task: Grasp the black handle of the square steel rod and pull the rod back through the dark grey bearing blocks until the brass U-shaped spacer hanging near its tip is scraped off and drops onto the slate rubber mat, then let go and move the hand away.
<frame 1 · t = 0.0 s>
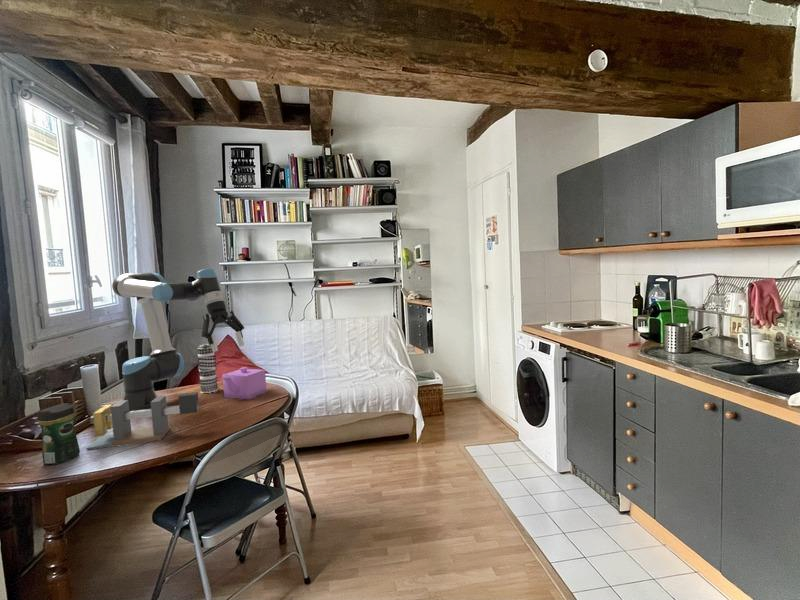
hand: (229, 348, 185), 28 cm above the table, tool tilted 20°, fingers open, 13 cm apart
spacer: (105, 431, 157), point 4 cm above the table, touching shaft
bracket: (142, 437, 160), on the table
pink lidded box: (244, 396, 211), on the table
coffee jar: (61, 460, 144), on the table
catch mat: (106, 442, 157), on the table
shaft: (145, 408, 160), point 11 cm above the table, slide at 0.0 cm, touching spacer
decorative candle: (209, 391, 223), on the table
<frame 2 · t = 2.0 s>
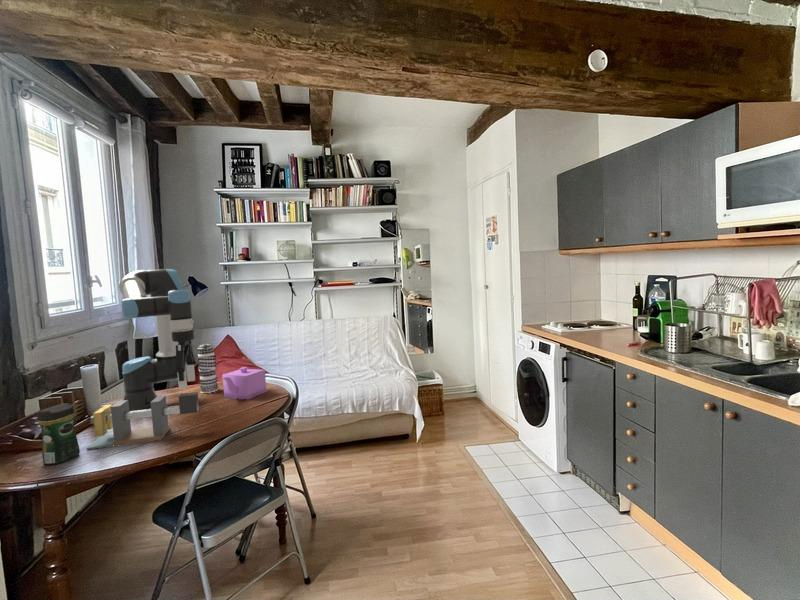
hand: (187, 385, 163), 18 cm above the table, tool pointing down, fingers open, 13 cm apart
nothing on the table moved.
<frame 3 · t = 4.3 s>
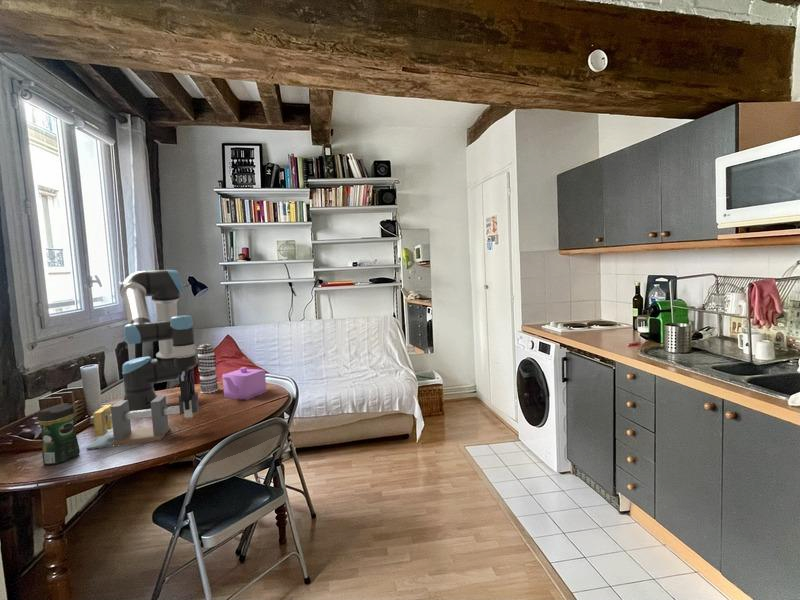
hand: (190, 415, 164), 6 cm above the table, tool pointing down, fingers closed on shaft, 4 cm apart
shaft: (145, 408, 160), point 11 cm above the table, slide at 0.0 cm, touching gripper, spacer
everything else where it was.
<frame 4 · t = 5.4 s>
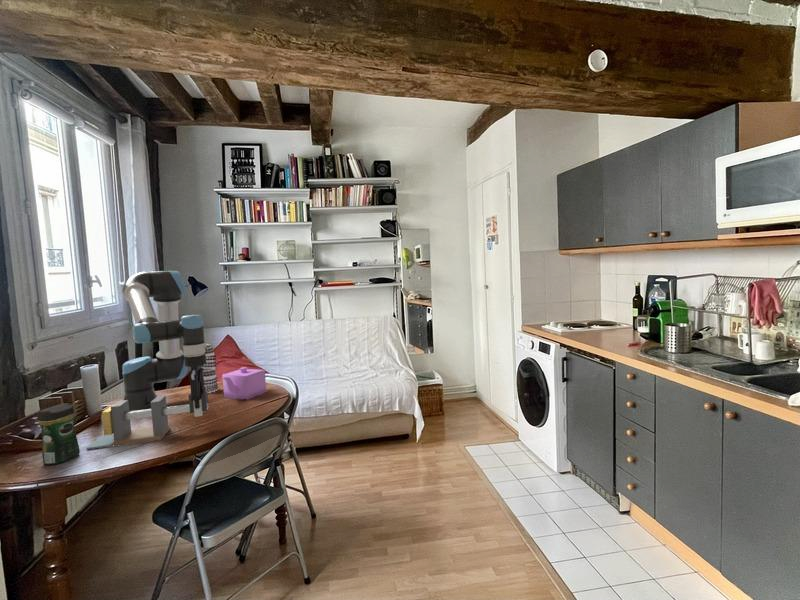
hand: (199, 414, 165), 6 cm above the table, tool pointing down, fingers closed on shaft, 4 cm apart
spacer: (113, 430, 158), point 4 cm above the table, touching shaft
shaft: (156, 406, 161), point 11 cm above the table, slide at 3.5 cm, touching gripper, spacer
everything else where it was.
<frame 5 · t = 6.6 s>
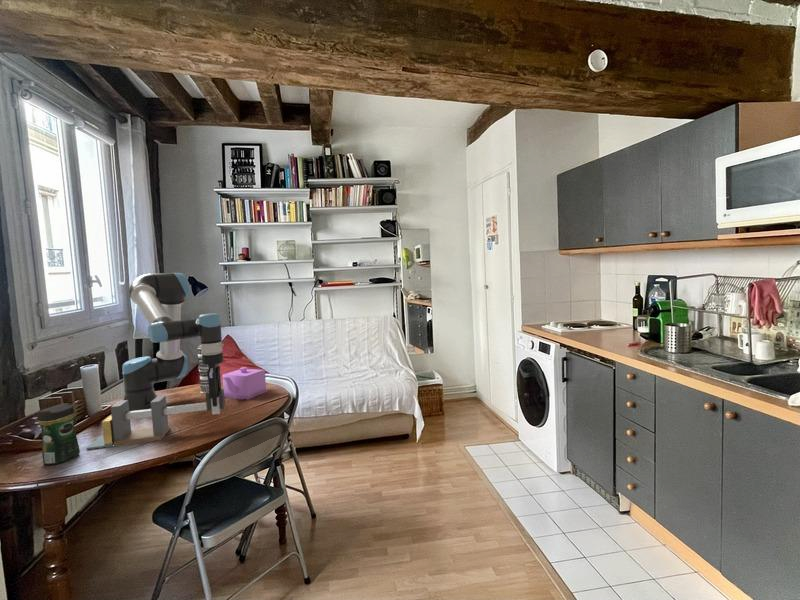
hand: (217, 411, 167), 6 cm above the table, tool pointing down, fingers closed on shaft, 4 cm apart
spacer: (114, 439, 158), point 1 cm above the table, touching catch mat
shaft: (173, 404, 163), point 11 cm above the table, slide at 9.6 cm, touching gripper
everything else where it was.
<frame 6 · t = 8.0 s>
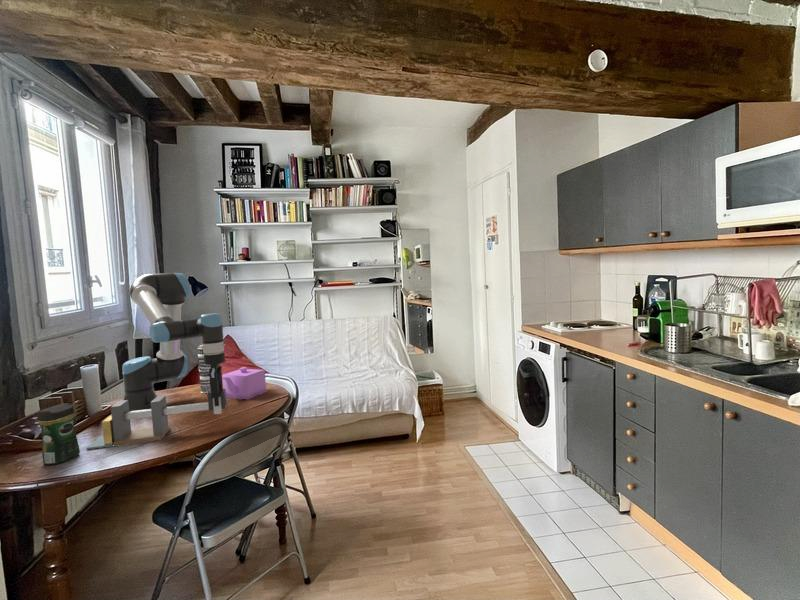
hand: (218, 411, 167), 6 cm above the table, tool pointing down, fingers closed on shaft, 4 cm apart
shaft: (175, 404, 163), point 11 cm above the table, slide at 10.2 cm, touching gripper
everything else where it was.
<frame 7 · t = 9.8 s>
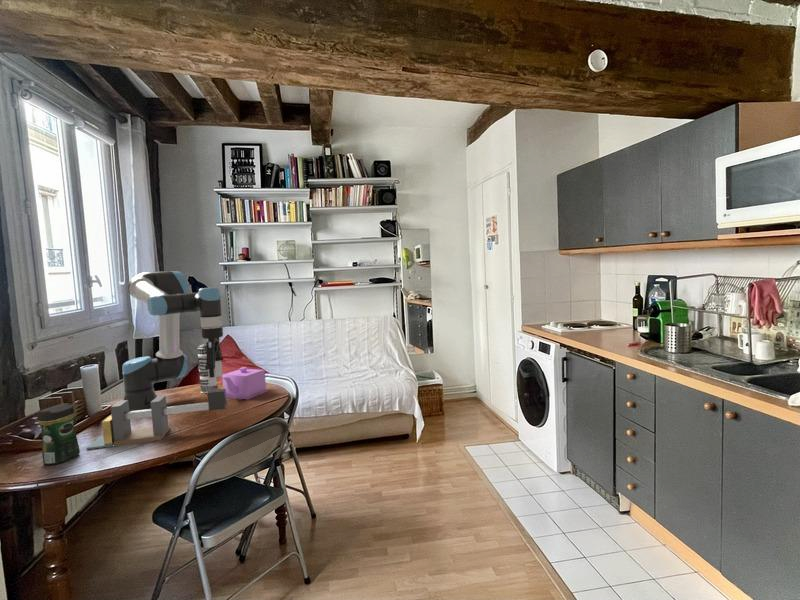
hand: (216, 381, 166), 18 cm above the table, tool pointing down, fingers open, 13 cm apart
shaft: (175, 404, 163), point 11 cm above the table, slide at 10.2 cm
everything else where it was.
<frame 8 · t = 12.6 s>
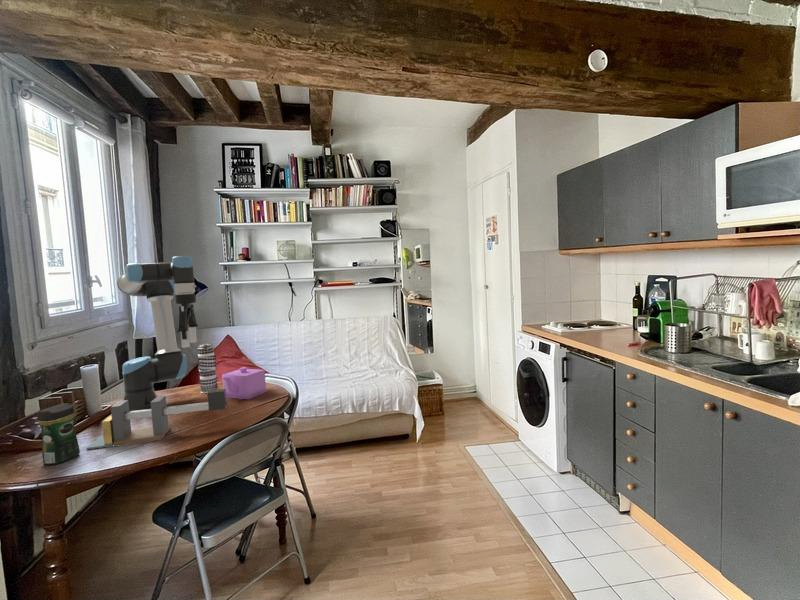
hand: (189, 344, 176), 32 cm above the table, tool pointing down, fingers open, 13 cm apart
nothing on the table moved.
at the end: shaft slide at 10.2 cm; spacer point 0.8 cm above the table; spacer touching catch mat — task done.
